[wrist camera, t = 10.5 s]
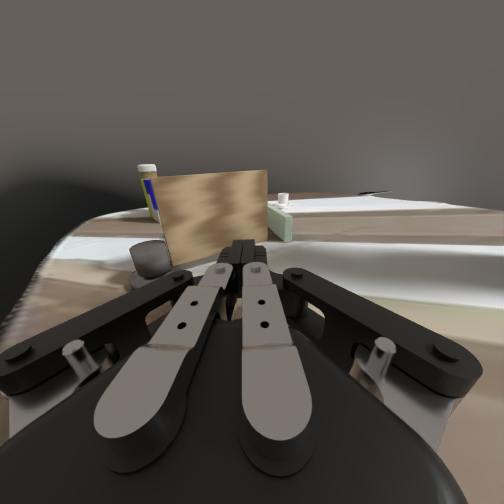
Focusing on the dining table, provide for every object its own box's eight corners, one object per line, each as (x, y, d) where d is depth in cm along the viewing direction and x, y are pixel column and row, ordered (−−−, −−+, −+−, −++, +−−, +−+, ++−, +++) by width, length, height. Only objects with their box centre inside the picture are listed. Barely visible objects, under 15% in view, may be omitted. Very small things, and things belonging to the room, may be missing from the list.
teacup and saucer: (279, 212, 53) (280, 197, 51) (263, 207, 59) (263, 194, 57) (301, 207, 57) (302, 193, 55) (284, 203, 63) (284, 191, 62)
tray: (261, 216, 48) (261, 199, 46) (291, 241, 32) (292, 216, 30) (188, 224, 44) (185, 205, 42) (180, 256, 28) (174, 229, 26)
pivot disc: (188, 266, 25) (186, 260, 25) (170, 292, 20) (168, 285, 20) (147, 268, 25) (145, 261, 25) (120, 293, 20) (117, 286, 20)
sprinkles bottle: (153, 210, 61) (140, 164, 55) (167, 209, 61) (157, 164, 55) (148, 213, 56) (134, 164, 51) (163, 212, 57) (152, 164, 51)
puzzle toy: (160, 223, 46) (149, 180, 42) (151, 216, 53) (140, 179, 49) (198, 216, 51) (192, 177, 47) (185, 210, 59) (178, 176, 54)
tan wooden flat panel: (138, 280, 20) (102, 181, 16) (137, 267, 23) (106, 179, 19) (272, 242, 28) (272, 170, 24) (259, 236, 31) (257, 170, 27)
